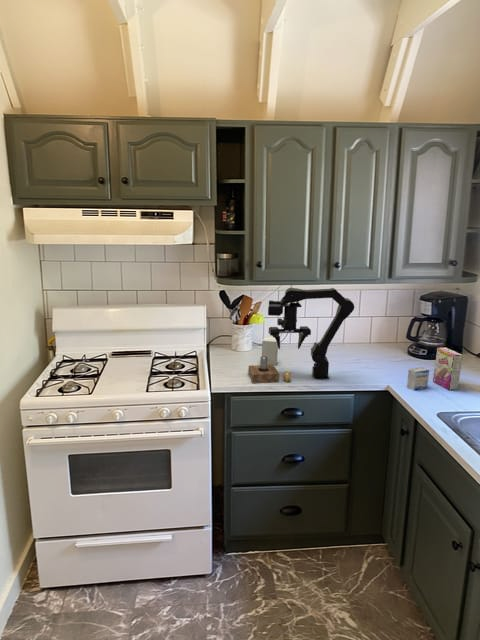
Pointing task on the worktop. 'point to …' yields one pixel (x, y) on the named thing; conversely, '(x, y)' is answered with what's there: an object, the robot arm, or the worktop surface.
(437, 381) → the candy bar box
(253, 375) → the hole block
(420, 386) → the medicine box
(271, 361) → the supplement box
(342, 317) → the robot arm
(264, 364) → the long pin
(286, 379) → the short pin
